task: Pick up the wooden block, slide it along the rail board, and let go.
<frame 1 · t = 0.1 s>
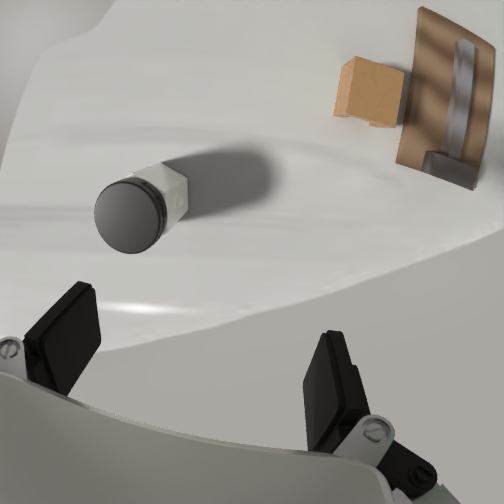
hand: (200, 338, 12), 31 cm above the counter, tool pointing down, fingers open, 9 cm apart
rail board: (450, 97, 33), on the counter
wooden block: (359, 96, 34), on the counter
jar: (162, 193, 41), on the counter
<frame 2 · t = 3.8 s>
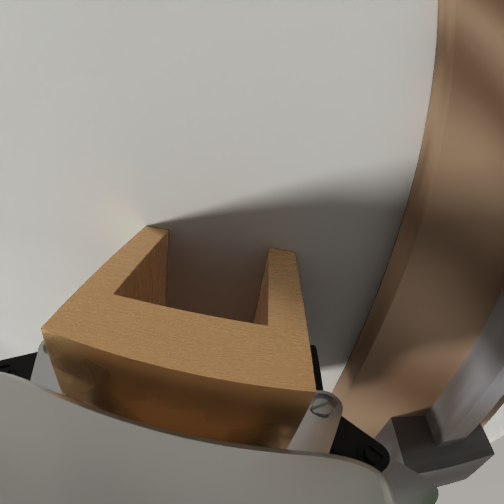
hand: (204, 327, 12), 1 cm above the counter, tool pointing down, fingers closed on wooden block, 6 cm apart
rail board: (503, 262, 11), on the counter
wooden block: (208, 312, 13), on the counter, touching gripper
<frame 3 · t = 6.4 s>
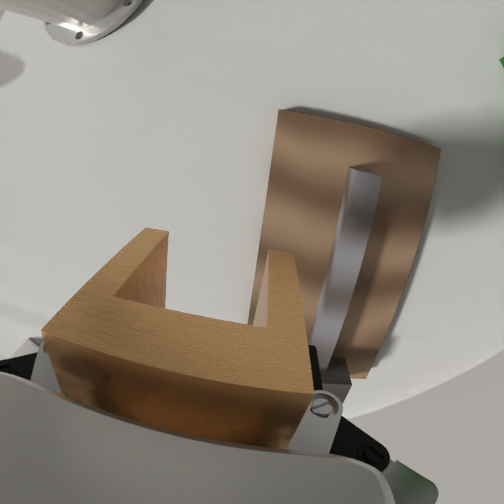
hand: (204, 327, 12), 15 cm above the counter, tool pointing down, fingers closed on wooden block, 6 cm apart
rail board: (334, 265, 27), on the counter
wooden block: (208, 313, 13), point 14 cm above the counter, touching gripper
jar: (39, 359, 37), on the counter
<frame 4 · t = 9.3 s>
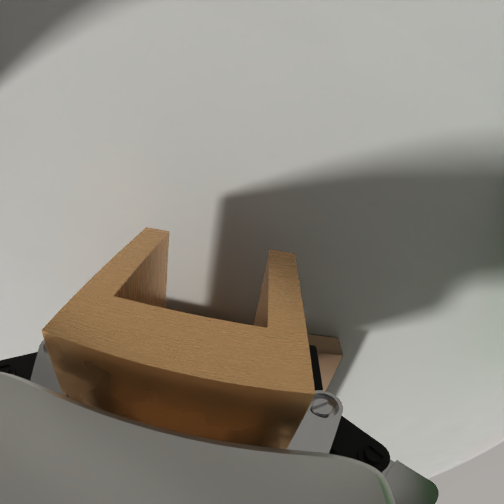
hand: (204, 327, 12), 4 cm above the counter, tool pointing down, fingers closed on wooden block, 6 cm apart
rail board: (200, 436, 21), on the counter
wooden block: (209, 313, 13), point 2 cm above the counter, touching gripper
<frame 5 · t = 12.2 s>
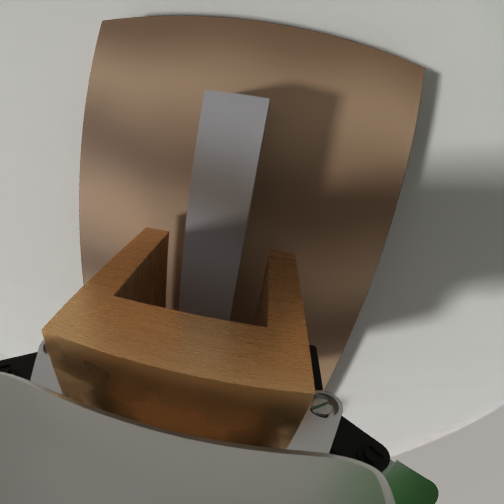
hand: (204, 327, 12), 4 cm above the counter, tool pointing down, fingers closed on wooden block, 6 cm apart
rail board: (216, 287, 16), on the counter
wooden block: (209, 313, 13), point 2 cm above the counter, touching gripper
when the fingers open (3 cm above the counter, at t = 14.7 s): wooden block stays where it is, resting on rail board.
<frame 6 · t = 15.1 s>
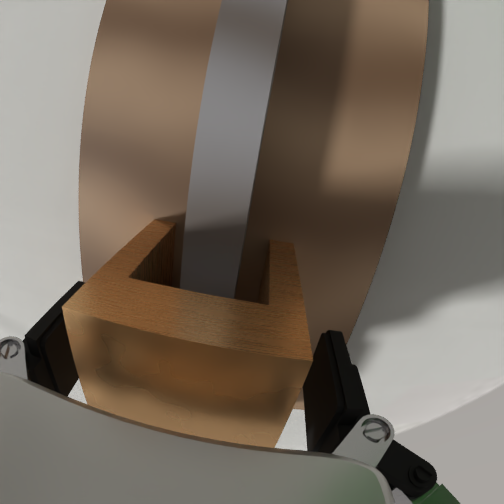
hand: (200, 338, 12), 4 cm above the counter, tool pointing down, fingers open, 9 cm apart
rail board: (233, 177, 13), on the counter
wooden block: (212, 301, 14), point 1 cm above the counter, touching rail board
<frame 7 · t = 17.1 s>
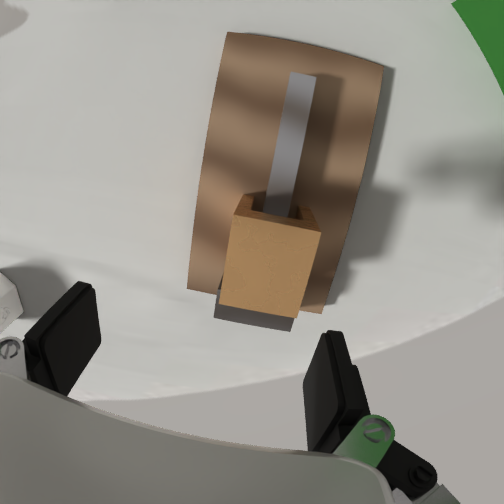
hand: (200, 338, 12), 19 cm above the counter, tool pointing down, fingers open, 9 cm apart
rail board: (280, 176, 27), on the counter
wooden block: (268, 237, 28), point 1 cm above the counter, touching rail board
jar: (6, 294, 36), on the counter
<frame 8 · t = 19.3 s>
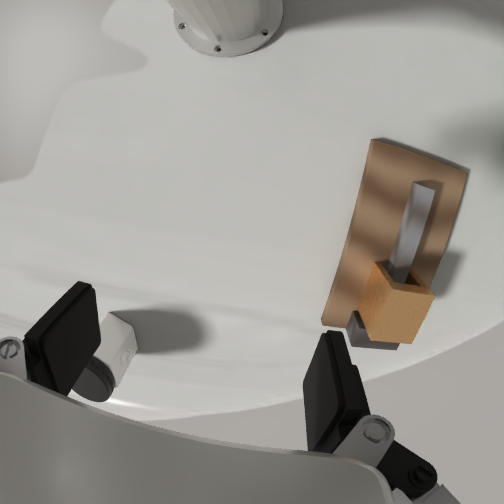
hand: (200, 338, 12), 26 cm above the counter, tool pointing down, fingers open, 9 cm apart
rail board: (394, 247, 37), on the counter
wooden block: (385, 289, 38), point 1 cm above the counter, touching rail board
jar: (115, 333, 46), on the counter
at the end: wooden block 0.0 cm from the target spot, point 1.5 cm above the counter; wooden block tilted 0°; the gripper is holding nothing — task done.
